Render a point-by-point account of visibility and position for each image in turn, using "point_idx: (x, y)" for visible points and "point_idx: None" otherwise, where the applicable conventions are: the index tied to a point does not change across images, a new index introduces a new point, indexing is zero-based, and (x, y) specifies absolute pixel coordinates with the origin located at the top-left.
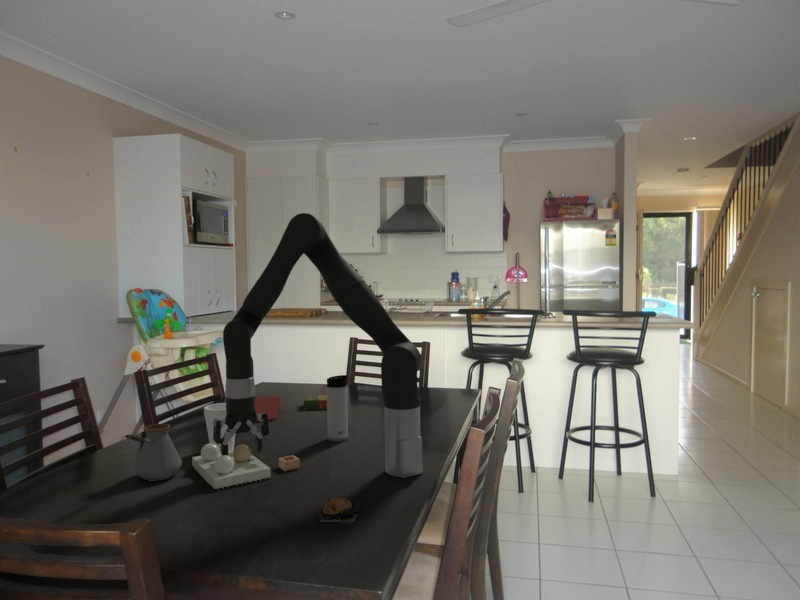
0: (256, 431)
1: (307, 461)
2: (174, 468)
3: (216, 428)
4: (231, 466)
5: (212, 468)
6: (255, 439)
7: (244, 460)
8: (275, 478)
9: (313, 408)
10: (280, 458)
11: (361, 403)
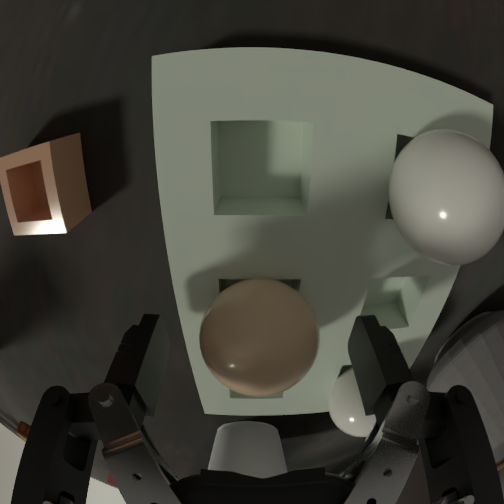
0: (121, 448)
1: (4, 219)
2: (487, 328)
3: (495, 475)
4: (435, 131)
5: (432, 271)
6: (150, 401)
7: (262, 278)
8: (151, 50)
9: None
10: (59, 219)
11: (8, 416)
